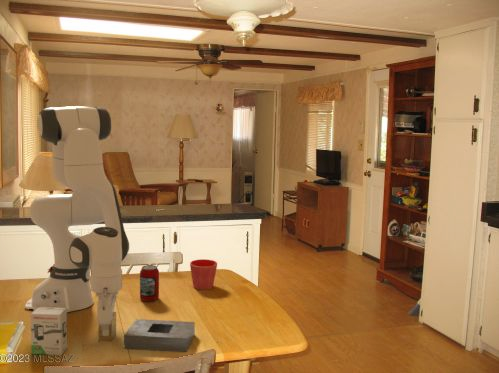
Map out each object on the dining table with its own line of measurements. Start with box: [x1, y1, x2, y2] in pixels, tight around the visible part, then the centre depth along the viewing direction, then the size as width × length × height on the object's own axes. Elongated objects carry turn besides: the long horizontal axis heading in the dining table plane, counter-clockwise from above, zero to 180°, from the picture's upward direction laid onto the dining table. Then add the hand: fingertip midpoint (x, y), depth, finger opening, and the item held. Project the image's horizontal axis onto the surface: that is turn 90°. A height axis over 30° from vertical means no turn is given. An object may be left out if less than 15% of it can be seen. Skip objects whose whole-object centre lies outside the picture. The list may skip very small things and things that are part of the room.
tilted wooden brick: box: [97, 311, 117, 343], centre depth 150 cm, size 4×4×8 cm
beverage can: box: [139, 264, 160, 302], centre depth 184 cm, size 7×7×12 cm
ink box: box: [30, 307, 68, 356], centre depth 141 cm, size 9×5×12 cm, turn 90°
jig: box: [123, 318, 196, 353], centre depth 149 cm, size 18×12×4 cm, turn 86°
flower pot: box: [189, 258, 218, 291], centre depth 200 cm, size 11×11×10 cm
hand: (107, 328), depth 150 cm, fingers open, 8 cm apart
